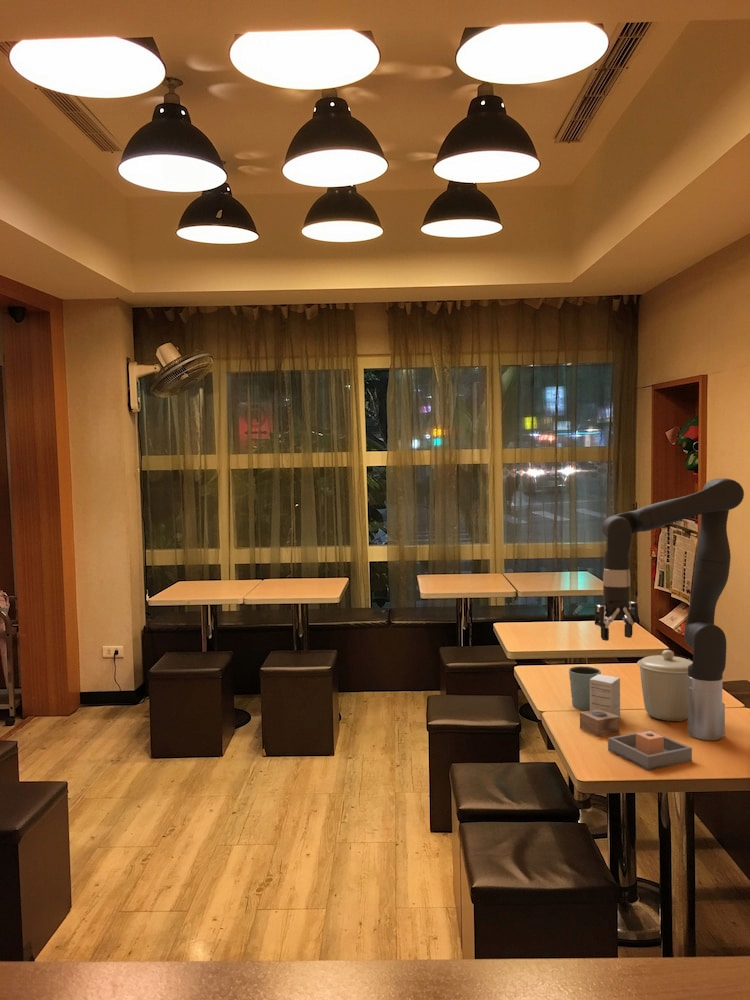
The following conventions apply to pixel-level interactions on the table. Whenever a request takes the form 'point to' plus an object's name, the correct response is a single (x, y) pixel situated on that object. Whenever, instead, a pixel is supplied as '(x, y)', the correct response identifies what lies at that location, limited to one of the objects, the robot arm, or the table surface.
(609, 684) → the supplement box
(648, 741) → the terracotta block
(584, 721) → the walnut block
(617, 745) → the charcoal tray
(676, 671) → the canister
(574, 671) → the teal cup
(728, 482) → the robot arm
